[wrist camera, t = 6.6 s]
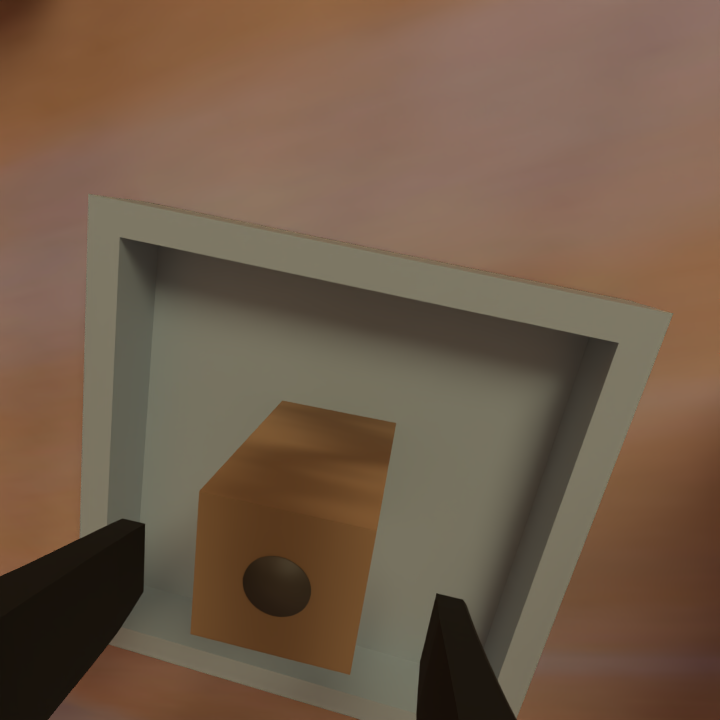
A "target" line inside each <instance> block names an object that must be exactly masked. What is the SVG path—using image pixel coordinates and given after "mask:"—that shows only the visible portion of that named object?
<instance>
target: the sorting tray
mask: <svg viewBox="0 0 720 720" xmlns="http://www.w3.org/2000/svg"><path fill="white" fill-rule="evenodd" d="M672 315H673V313H669V312H666V311H663V310H659V309H656V308H653V307H649V306H646V305H643V304H639V303H636V302H633V301H629V300H624V299H619V298H614V297H609V296H605V295H600V294H595V293H590V292H585V291H580V290H575V289H570V288H565V287H560V286H555V285H551V284H546V283H541V282H536V281H531V280H526V279H521V278H516V277H511V276H506V275H502V274H497V273H492V272H487V271H482V270H477V269H472V268H467V267H462V266H457V265H452V264H448V263H443V262H438V261H433V260H428V259H423V258H418V257H413V256H408V255H403V254H398V253H394V252H389V251H384V250H379V249H374V248H369V247H364V246H359V245H354V244H349V243H345V242H340V241H335V240H330V239H325V238H320V237H315V236H310V235H305V234H300V233H295V232H291V231H286V230H281V229H276V228H271V227H266V226H261V225H256V224H251V223H246V222H242V221H237V220H232V219H227V218H222V217H217V216H212V215H207V214H202V213H197V212H192V211H188V210H183V209H178V208H173V207H168V206H163V205H158V204H153V203H148V202H143V201H136V200H129V199H121V198H114V197H107V196H99V195H92V194H88V234H87V273H86V312H85V352H84V391H83V431H82V470H81V510H80V538H82V537H84V536H86V535H88V534H90V533H92V532H94V531H96V530H98V529H101V528H103V527H105V526H107V525H109V524H111V523H113V522H115V521H118V520H120V519H122V518H123V519H128V520H132V521H136V522H140V523H144V524H145V558H144V592H143V594H142V595H141V597H140V598H139V600H138V602H137V603H136V605H135V606H134V608H133V610H132V611H131V613H130V615H129V616H128V618H127V619H126V621H125V622H124V624H123V625H122V627H121V628H120V630H119V631H118V633H117V634H116V635H115V637H114V638H113V639H112V641H111V642H110V643H109V645H112V646H116V647H119V648H122V649H126V650H129V651H132V652H136V653H139V654H142V655H146V656H149V657H153V658H156V659H159V660H163V661H166V662H169V663H173V664H176V665H179V666H183V667H186V668H189V669H193V670H196V671H199V672H203V673H206V674H209V675H213V676H216V677H220V678H223V679H226V680H230V681H233V682H236V683H240V684H243V685H246V686H250V687H253V688H256V689H260V690H263V691H266V692H270V693H273V694H276V695H280V696H283V697H286V698H290V699H293V700H297V701H300V702H303V703H307V704H310V705H313V706H317V707H320V708H323V709H327V710H330V711H333V712H337V713H340V714H343V715H347V716H350V717H353V718H357V719H360V720H416V710H417V694H418V680H419V667H420V659H421V655H422V651H423V647H424V643H425V639H426V634H427V630H428V626H429V622H430V618H431V614H432V609H433V605H434V601H435V597H436V593H438V594H442V595H446V596H450V597H455V598H459V599H463V600H464V602H465V603H466V605H467V607H468V610H469V613H470V616H471V619H472V621H473V624H474V626H475V629H476V632H477V634H478V637H479V639H480V641H481V644H482V646H483V649H484V651H485V653H486V656H487V658H488V660H489V663H490V665H491V667H492V669H493V672H494V674H495V676H496V678H497V680H498V682H499V684H500V686H501V689H502V691H503V693H504V695H505V697H506V699H507V701H508V703H509V705H510V707H511V709H512V711H513V713H514V715H515V717H516V718H517V716H518V713H519V711H520V708H521V705H522V703H523V700H524V698H525V695H526V692H527V690H528V687H529V685H530V682H531V680H532V677H533V674H534V672H535V669H536V667H537V664H538V661H539V659H540V656H541V654H542V651H543V649H544V646H545V643H546V641H547V638H548V636H549V633H550V630H551V628H552V625H553V623H554V620H555V618H556V615H557V612H558V610H559V607H560V605H561V602H562V599H563V597H564V594H565V592H566V589H567V587H568V584H569V581H570V579H571V576H572V574H573V571H574V568H575V566H576V563H577V561H578V558H579V556H580V553H581V550H582V548H583V545H584V543H585V540H586V537H587V535H588V532H589V530H590V527H591V525H592V522H593V519H594V517H595V514H596V512H597V509H598V506H599V504H600V501H601V499H602V496H603V494H604V491H605V488H606V486H607V483H608V481H609V478H610V475H611V473H612V470H613V468H614V465H615V463H616V460H617V457H618V455H619V452H620V450H621V447H622V444H623V442H624V439H625V437H626V434H627V432H628V429H629V426H630V424H631V421H632V419H633V416H634V413H635V411H636V408H637V406H638V403H639V401H640V398H641V395H642V393H643V390H644V388H645V385H646V382H647V380H648V377H649V375H650V372H651V370H652V367H653V364H654V362H655V359H656V357H657V354H658V351H659V349H660V346H661V344H662V341H663V339H664V336H665V333H666V331H667V328H668V326H669V323H670V320H671V318H672ZM281 401H287V402H293V403H298V404H303V405H308V406H313V407H318V408H323V409H328V410H333V411H338V412H343V413H348V414H353V415H358V416H363V417H368V418H374V419H379V420H384V421H389V422H394V423H396V427H395V433H394V439H393V444H392V450H391V455H390V461H389V466H388V472H387V477H386V483H385V488H384V494H383V500H382V505H381V511H380V516H379V522H378V527H377V533H376V538H375V544H374V549H373V554H372V560H371V565H370V570H369V576H368V581H367V587H366V592H365V597H364V603H363V608H362V613H361V619H360V624H359V630H358V635H357V640H356V646H355V651H354V656H353V662H352V667H351V673H350V675H348V674H344V673H340V672H336V671H332V670H329V669H325V668H321V667H317V666H313V665H309V664H305V663H301V662H297V661H293V660H289V659H286V658H282V657H278V656H274V655H270V654H266V653H262V652H258V651H254V650H250V649H247V648H243V647H239V646H235V645H231V644H227V643H223V642H219V641H215V640H211V639H207V638H204V637H200V636H196V635H192V634H190V632H191V616H192V600H193V583H194V567H195V551H196V534H197V518H198V502H199V491H200V490H201V489H202V488H203V486H204V485H205V484H206V483H207V482H208V481H209V480H210V479H211V478H212V477H213V476H214V474H215V473H216V472H217V471H218V470H219V469H220V468H221V467H222V466H223V465H224V464H225V462H226V461H227V460H228V459H229V458H230V457H231V456H232V455H233V454H234V453H235V452H236V450H237V449H238V448H239V447H240V446H241V445H242V444H243V443H244V442H245V441H246V440H247V438H248V437H249V436H250V435H251V434H252V433H253V432H254V431H255V430H256V429H257V428H258V426H259V425H260V424H261V423H262V422H263V421H264V420H265V419H266V418H267V417H268V416H269V414H270V413H271V412H272V411H273V410H274V409H275V408H276V407H277V406H278V405H279V404H280V403H281Z"/></svg>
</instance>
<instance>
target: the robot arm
mask: <svg viewBox="0 0 720 720" xmlns="http://www.w3.org/2000/svg"><path fill="white" fill-rule="evenodd" d="M144 558H145V524H144V523H140V522H136V521H132V520H128V519H123V518H122V519H120V520H118V521H115V522H113V523H111V524H109V525H107V526H105V527H103V528H101V529H98V530H96V531H94V532H92V533H90V534H88V535H86V536H84V537H82V538H80V539H78V540H76V541H74V542H72V543H70V544H68V545H66V546H64V547H62V548H60V549H58V550H56V551H54V552H52V553H49V554H47V555H45V556H43V557H41V558H39V559H37V560H35V561H33V562H31V563H29V564H27V565H25V566H22V567H20V568H18V569H16V570H13V571H11V572H9V573H7V574H4V575H2V576H0V720H48V719H49V718H50V716H51V715H52V714H53V713H54V711H55V710H56V709H57V708H58V706H59V705H60V704H61V703H62V702H63V700H64V699H65V698H66V697H67V695H68V694H69V693H70V692H71V690H72V689H73V688H74V687H75V685H76V684H77V683H78V682H79V681H80V679H81V678H82V677H83V676H84V674H85V673H86V672H87V671H88V669H89V668H90V667H91V666H92V664H93V663H94V662H95V661H96V659H97V658H98V657H99V656H100V654H101V653H102V652H103V651H104V649H105V648H106V647H107V646H108V644H109V643H110V642H111V641H112V639H113V638H114V637H115V635H116V634H117V633H118V631H119V630H120V628H121V627H122V625H123V624H124V622H125V621H126V619H127V618H128V616H129V615H130V613H131V611H132V610H133V608H134V606H135V605H136V603H137V602H138V600H139V598H140V597H141V595H142V594H143V592H144ZM416 720H517V719H516V717H515V715H514V713H513V711H512V709H511V707H510V705H509V703H508V701H507V699H506V697H505V695H504V693H503V691H502V689H501V686H500V684H499V682H498V680H497V678H496V676H495V674H494V672H493V669H492V667H491V665H490V663H489V660H488V658H487V656H486V653H485V651H484V649H483V646H482V644H481V641H480V639H479V637H478V634H477V632H476V629H475V626H474V624H473V621H472V619H471V616H470V613H469V610H468V607H467V605H466V603H465V602H464V600H463V599H459V598H455V597H450V596H446V595H442V594H438V593H436V597H435V601H434V605H433V609H432V614H431V618H430V622H429V626H428V630H427V634H426V639H425V643H424V647H423V651H422V655H421V659H420V667H419V680H418V694H417V710H416Z"/></svg>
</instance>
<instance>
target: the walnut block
mask: <svg viewBox="0 0 720 720" xmlns="http://www.w3.org/2000/svg"><path fill="white" fill-rule="evenodd" d="M395 427H396V423H394V422H389V421H384V420H379V419H374V418H368V417H363V416H358V415H353V414H348V413H343V412H338V411H333V410H328V409H323V408H318V407H313V406H308V405H303V404H298V403H293V402H287V401H281V403H280V404H279V405H278V406H277V407H276V408H275V409H274V410H273V411H272V412H271V413H270V414H269V416H268V417H267V418H266V419H265V420H264V421H263V422H262V423H261V424H260V425H259V426H258V428H257V429H256V430H255V431H254V432H253V433H252V434H251V435H250V436H249V437H248V438H247V440H246V441H245V442H244V443H243V444H242V445H241V446H240V447H239V448H238V449H237V450H236V452H235V453H234V454H233V455H232V456H231V457H230V458H229V459H228V460H227V461H226V462H225V464H224V465H223V466H222V467H221V468H220V469H219V470H218V471H217V472H216V473H215V474H214V476H213V477H212V478H211V479H210V480H209V481H208V482H207V483H206V484H205V485H204V486H203V488H202V489H201V490H200V491H199V502H198V518H197V534H196V551H195V567H194V583H193V600H192V616H191V632H190V634H192V635H196V636H200V637H204V638H207V639H211V640H215V641H219V642H223V643H227V644H231V645H235V646H239V647H243V648H247V649H250V650H254V651H258V652H262V653H266V654H270V655H274V656H278V657H282V658H286V659H289V660H293V661H297V662H301V663H305V664H309V665H313V666H317V667H321V668H325V669H329V670H332V671H336V672H340V673H344V674H348V675H350V673H351V667H352V662H353V656H354V651H355V646H356V640H357V635H358V630H359V624H360V619H361V613H362V608H363V603H364V597H365V592H366V587H367V581H368V576H369V570H370V565H371V560H372V554H373V549H374V544H375V538H376V533H377V527H378V522H379V516H380V511H381V505H382V500H383V494H384V488H385V483H386V477H387V472H388V466H389V461H390V455H391V450H392V444H393V439H394V433H395Z"/></svg>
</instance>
